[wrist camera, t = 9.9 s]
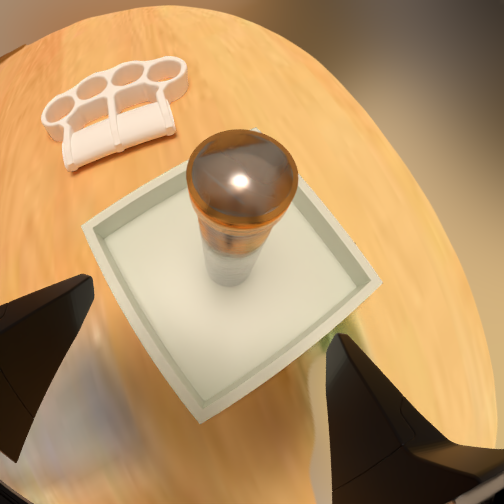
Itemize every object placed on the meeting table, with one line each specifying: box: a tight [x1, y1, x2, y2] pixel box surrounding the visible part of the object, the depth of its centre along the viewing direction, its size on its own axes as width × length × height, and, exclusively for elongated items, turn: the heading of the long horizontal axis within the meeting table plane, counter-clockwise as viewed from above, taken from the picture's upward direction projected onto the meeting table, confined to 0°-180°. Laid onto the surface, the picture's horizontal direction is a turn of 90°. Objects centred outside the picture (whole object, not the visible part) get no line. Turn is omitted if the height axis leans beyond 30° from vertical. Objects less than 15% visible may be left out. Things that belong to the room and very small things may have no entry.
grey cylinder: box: [186, 129, 298, 287], centre depth 16 cm, size 4×4×13 cm
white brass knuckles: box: [41, 56, 188, 172], centre depth 25 cm, size 3×18×15 cm
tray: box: [81, 127, 383, 424], centre depth 21 cm, size 17×17×3 cm
